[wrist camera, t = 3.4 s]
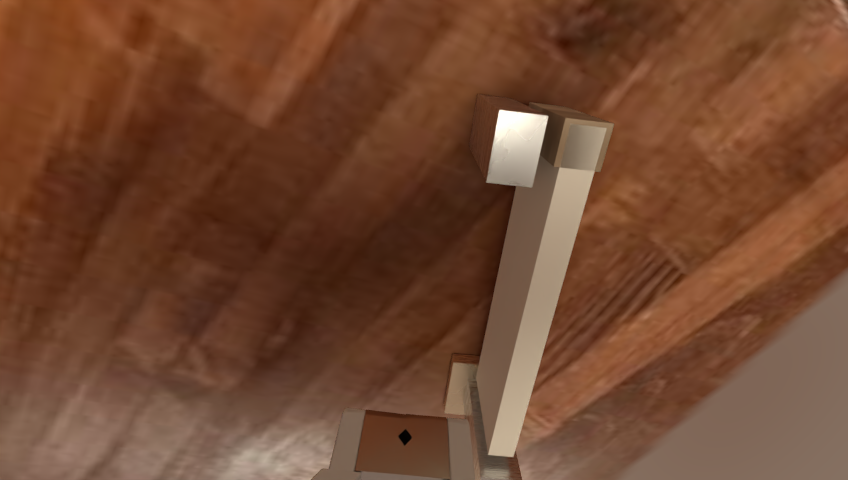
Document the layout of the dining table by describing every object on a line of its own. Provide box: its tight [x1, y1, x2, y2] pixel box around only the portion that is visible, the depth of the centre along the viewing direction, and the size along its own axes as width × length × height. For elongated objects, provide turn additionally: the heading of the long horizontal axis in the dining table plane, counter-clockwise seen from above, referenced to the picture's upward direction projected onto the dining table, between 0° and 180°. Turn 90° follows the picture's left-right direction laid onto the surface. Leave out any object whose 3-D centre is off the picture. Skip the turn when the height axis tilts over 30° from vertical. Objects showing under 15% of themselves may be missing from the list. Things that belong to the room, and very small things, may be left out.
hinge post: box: [444, 354, 522, 480], centre depth 28 cm, size 5×5×9 cm
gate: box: [476, 102, 614, 457], centre depth 24 cm, size 19×2×6 cm, turn 174°
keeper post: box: [469, 94, 548, 188], centre depth 21 cm, size 3×2×8 cm, turn 174°
